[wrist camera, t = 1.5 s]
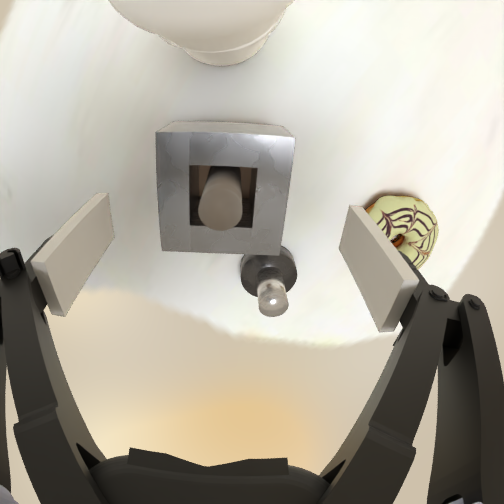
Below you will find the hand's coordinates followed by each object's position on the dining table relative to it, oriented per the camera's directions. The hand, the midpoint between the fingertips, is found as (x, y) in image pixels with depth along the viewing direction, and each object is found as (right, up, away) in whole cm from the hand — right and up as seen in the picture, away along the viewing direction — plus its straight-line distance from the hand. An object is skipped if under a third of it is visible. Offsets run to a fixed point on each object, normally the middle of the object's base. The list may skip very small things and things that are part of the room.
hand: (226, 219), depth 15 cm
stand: (-1, +7, +11) cm, 13 cm away
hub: (+3, -3, +18) cm, 18 cm away
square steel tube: (-1, +4, +7) cm, 8 cm away
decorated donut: (+17, +1, +16) cm, 24 cm away
